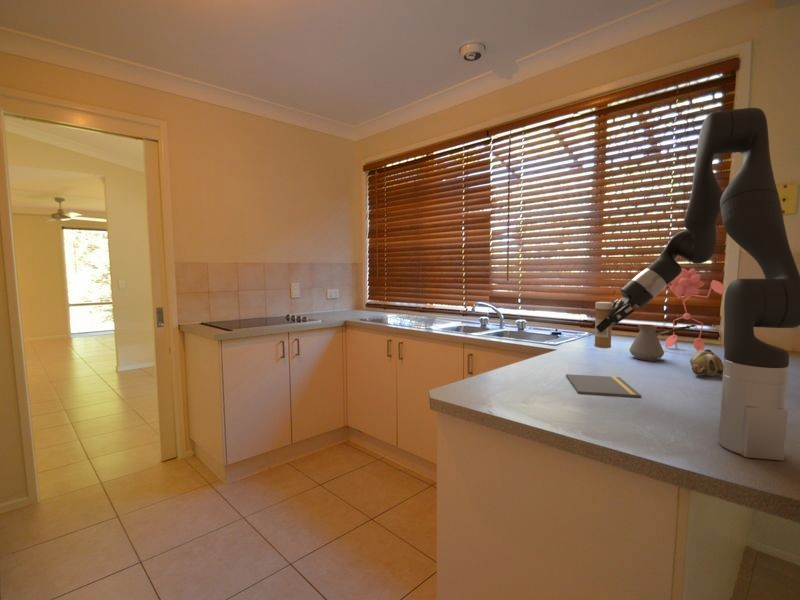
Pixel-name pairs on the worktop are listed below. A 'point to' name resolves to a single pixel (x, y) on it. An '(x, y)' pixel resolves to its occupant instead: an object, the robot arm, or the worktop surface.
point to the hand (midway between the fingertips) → (596, 328)
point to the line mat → (601, 385)
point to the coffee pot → (650, 342)
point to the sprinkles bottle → (601, 313)
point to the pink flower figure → (689, 286)
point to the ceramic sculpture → (706, 363)
